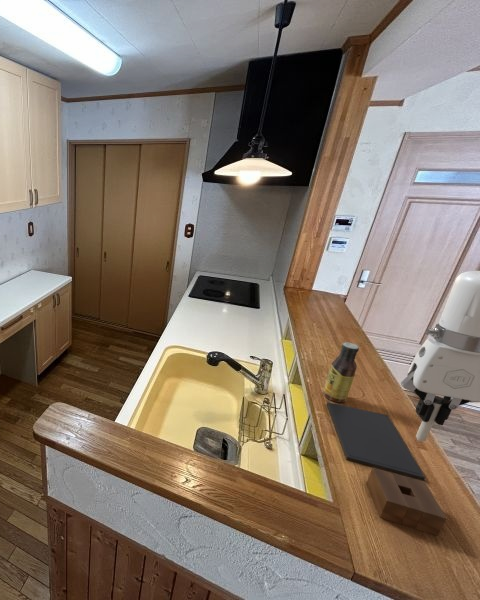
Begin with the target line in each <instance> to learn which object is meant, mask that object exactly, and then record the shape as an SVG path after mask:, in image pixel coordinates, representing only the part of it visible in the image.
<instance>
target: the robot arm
mask: <svg viewBox="0 0 480 600" xmlns="http://www.w3.org/2000/svg"><path fill="white" fill-rule="evenodd" d="M425 335H426V336H429V337H428V338H427V339H425V341H424V342H423V343H422V345H421V346H420V347H419V349H418V351H417V352H416V354H415V356H414V357H413V359H412V362H411V363H410V366H409V368H408V371H407V374H406V377H404V379H403V380H402V381H401V382H400V385H401V386H402V388H403V389H404V390H407V391H410V392H411V393H414V394H415V395H417V397H418V398H419V399H418V402H417V405H416V407H415V413H416V414H417V416H418V417H419V418H420V419H421V422H422V421H423V422H429V420H430V417H431V415H432V413H433V410H434V408H435V407H434V405H433V404H432V403H433V400H434V398H435V396H441V397H442V398H443V399H444V401H443V403H442V405H441V407H440V410H439V412H438V414H437V416H436V419H435V421H434V423H436V424H437V425H439V426H444V423H445V422H446V421H447V420H448V419H449V417H450V415H451V412H452V410H453V411H454V410H457V409H458V408H459V407H461V406H462V405H466V404H469V403H472V404H473V403H480V270H467V271H464V272H462V273H459V275H457V277H456V278H455V280H454V283H453V284H452V288H451V290H450V292H449V295H448V298H447V300H446V303H445V306H444V308H443V311H442V313H441V316H440V317H439V321H438V323H436V324H435V327H431V328H430V327H427V328H425Z"/></svg>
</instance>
